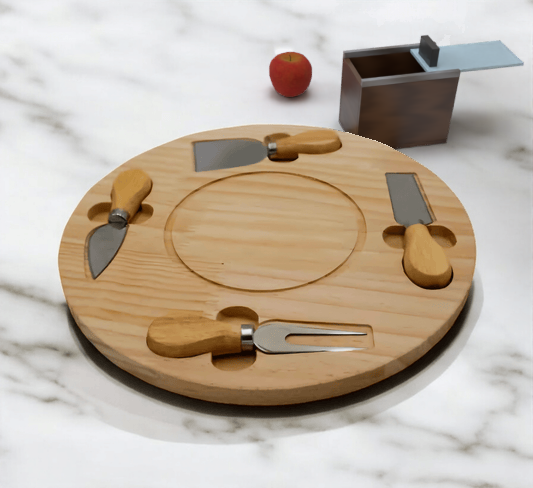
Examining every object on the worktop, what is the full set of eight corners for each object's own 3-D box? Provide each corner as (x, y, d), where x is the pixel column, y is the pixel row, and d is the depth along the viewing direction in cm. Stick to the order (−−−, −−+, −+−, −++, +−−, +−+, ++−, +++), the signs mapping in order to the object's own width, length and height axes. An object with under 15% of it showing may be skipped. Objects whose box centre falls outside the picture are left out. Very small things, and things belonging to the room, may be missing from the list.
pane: (499, 42, 108) (504, 22, 106) (523, 65, 102) (529, 44, 100) (409, 52, 106) (412, 31, 104) (428, 75, 100) (432, 54, 98)
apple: (301, 107, 117) (302, 67, 112) (262, 98, 120) (261, 59, 115) (317, 88, 123) (319, 48, 117) (279, 80, 125) (279, 41, 120)
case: (423, 110, 116) (434, 41, 107) (446, 143, 108) (460, 70, 99) (338, 120, 114) (343, 50, 105) (355, 154, 106) (362, 81, 97)
